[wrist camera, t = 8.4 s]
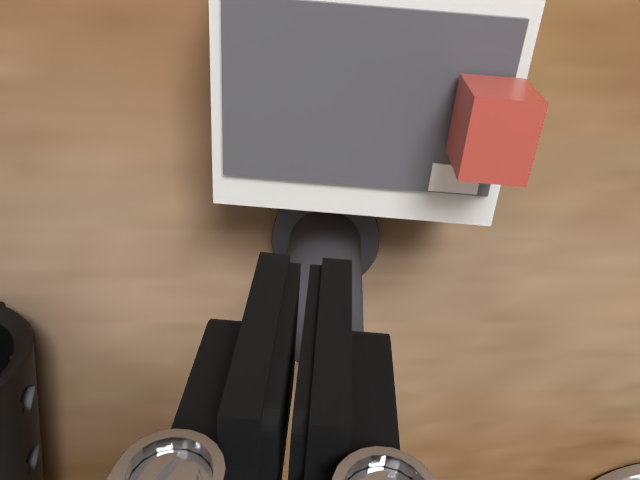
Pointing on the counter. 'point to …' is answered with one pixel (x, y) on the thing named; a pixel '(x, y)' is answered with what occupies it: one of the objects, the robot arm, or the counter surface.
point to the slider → (495, 129)
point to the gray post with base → (326, 251)
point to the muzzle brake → (18, 401)
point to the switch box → (355, 101)
